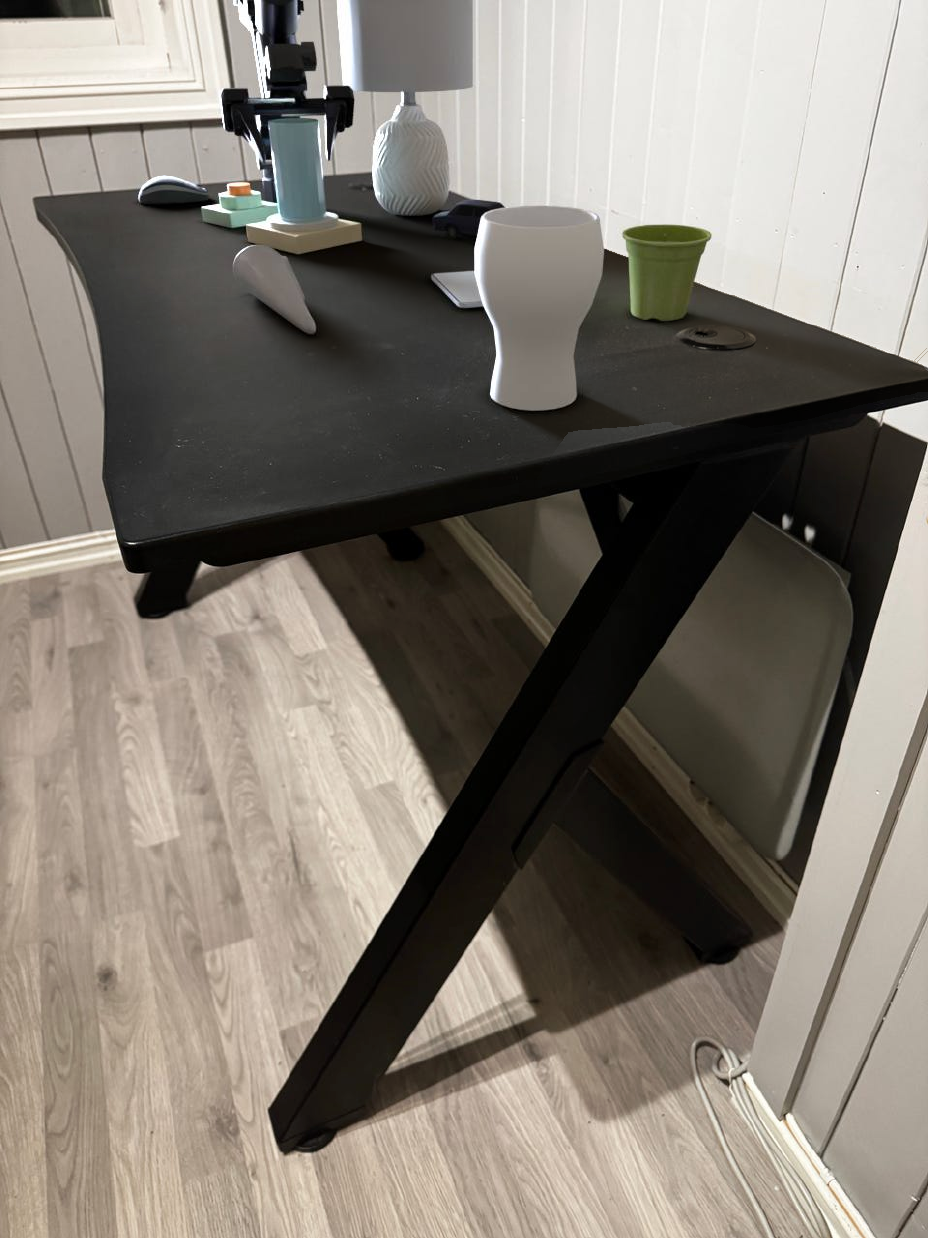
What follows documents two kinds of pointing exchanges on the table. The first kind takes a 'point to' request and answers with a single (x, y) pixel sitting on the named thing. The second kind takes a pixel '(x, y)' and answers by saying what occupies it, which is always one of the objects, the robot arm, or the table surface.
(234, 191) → the button
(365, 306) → the table surface
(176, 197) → the computer mouse
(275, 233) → the scale
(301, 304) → the long tapered cone
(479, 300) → the smartphone
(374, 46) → the lamp
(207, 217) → the button box
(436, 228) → the toy car
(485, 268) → the cup
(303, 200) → the tumbler
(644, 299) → the plant pot
